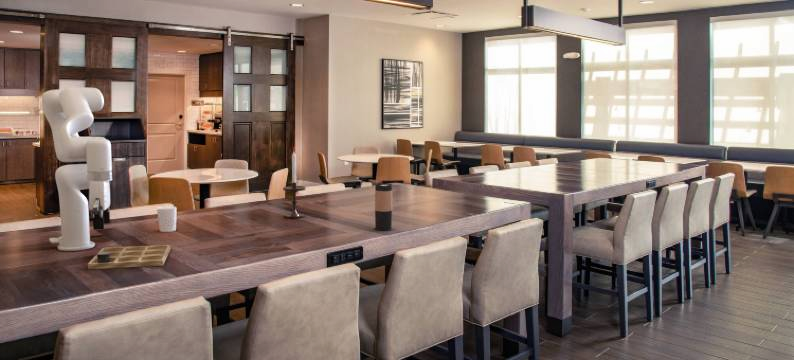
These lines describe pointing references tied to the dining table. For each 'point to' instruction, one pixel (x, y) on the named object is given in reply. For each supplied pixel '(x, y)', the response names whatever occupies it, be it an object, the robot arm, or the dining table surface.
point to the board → (132, 257)
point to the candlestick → (294, 189)
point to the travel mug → (383, 207)
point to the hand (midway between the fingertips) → (101, 226)
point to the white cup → (167, 218)
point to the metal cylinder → (103, 257)
